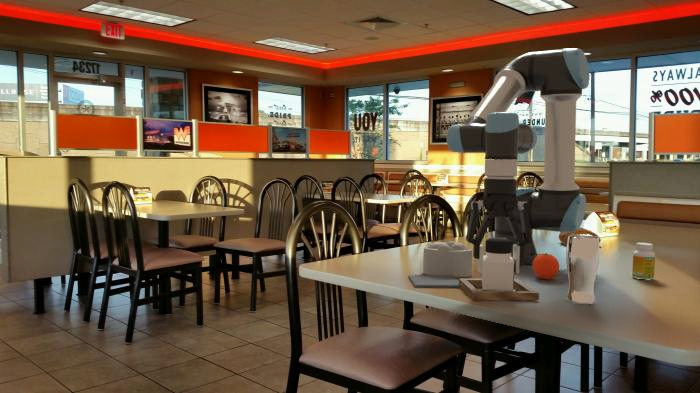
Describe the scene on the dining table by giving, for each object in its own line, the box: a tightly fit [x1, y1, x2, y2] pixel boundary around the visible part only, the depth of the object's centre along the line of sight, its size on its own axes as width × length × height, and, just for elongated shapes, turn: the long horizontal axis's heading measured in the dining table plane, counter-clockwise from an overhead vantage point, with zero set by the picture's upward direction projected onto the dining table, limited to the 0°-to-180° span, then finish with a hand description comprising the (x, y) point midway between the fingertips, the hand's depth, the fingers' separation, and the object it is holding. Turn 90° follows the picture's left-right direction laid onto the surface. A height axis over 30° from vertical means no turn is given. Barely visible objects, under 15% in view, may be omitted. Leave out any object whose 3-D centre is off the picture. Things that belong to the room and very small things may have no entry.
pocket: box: [458, 278, 540, 301], centre depth 138 cm, size 15×15×2 cm
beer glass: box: [565, 235, 600, 305], centre depth 130 cm, size 7×7×15 cm
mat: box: [408, 274, 462, 289], centre depth 148 cm, size 12×12×1 cm
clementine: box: [531, 252, 560, 280], centre depth 155 cm, size 8×7×7 cm
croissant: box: [558, 226, 601, 246], centre depth 219 cm, size 14×16×8 cm
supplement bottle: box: [631, 242, 656, 280], centre depth 157 cm, size 5×5×10 cm
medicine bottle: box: [481, 237, 515, 291], centre depth 137 cm, size 7×7×12 cm
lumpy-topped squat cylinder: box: [422, 240, 473, 278], centre depth 160 cm, size 10×13×9 cm
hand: (497, 271), depth 138 cm, fingers closed on medicine bottle, 8 cm apart
